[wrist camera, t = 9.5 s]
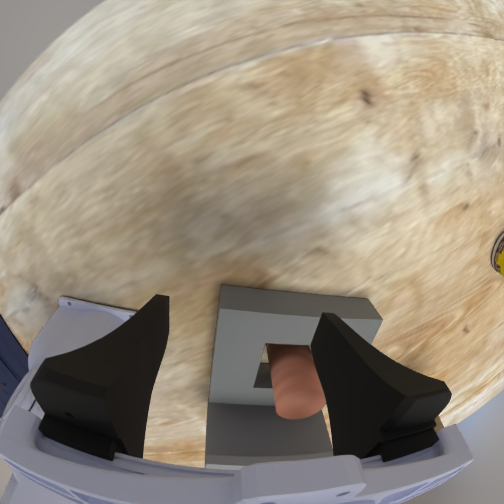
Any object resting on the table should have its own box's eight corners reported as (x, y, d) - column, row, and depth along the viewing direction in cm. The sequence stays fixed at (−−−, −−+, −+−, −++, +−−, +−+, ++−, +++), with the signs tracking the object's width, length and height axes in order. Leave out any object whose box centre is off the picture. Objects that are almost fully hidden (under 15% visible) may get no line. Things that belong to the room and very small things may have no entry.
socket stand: (207, 402, 30) (204, 480, 20) (221, 284, 23) (215, 387, 13) (316, 404, 31) (335, 475, 21) (368, 298, 25) (423, 379, 15)
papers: (-55, 335, 24) (-63, 344, 21) (2, 293, 25) (-11, 306, 22) (13, 418, 34) (8, 429, 30) (96, 410, 35) (92, 426, 31)
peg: (263, 356, 27) (272, 420, 20) (269, 326, 25) (281, 392, 18) (301, 356, 27) (318, 417, 20) (310, 327, 26) (332, 390, 18)
